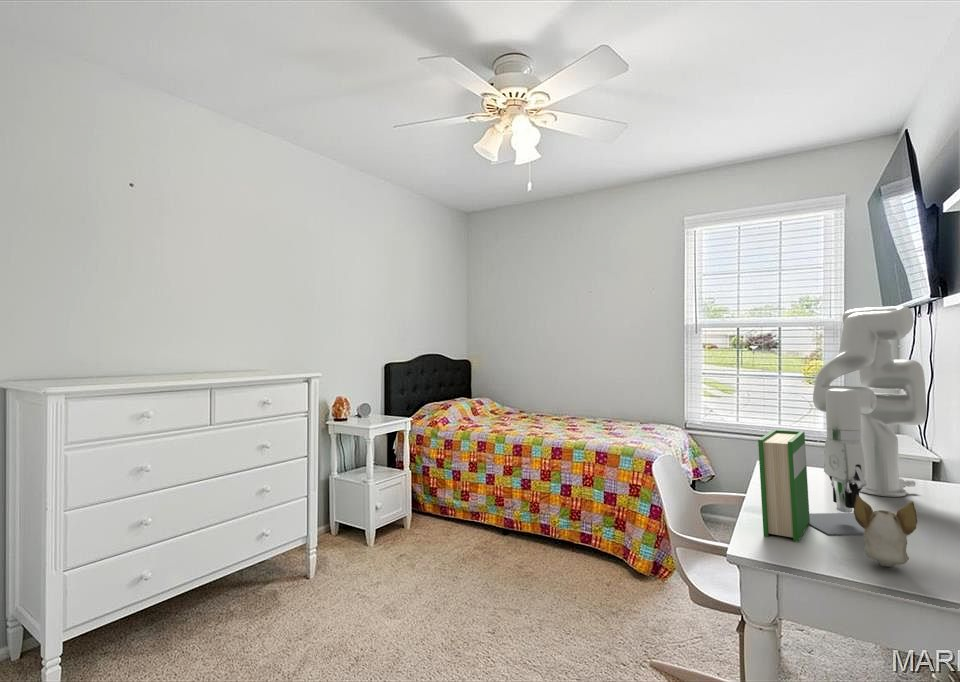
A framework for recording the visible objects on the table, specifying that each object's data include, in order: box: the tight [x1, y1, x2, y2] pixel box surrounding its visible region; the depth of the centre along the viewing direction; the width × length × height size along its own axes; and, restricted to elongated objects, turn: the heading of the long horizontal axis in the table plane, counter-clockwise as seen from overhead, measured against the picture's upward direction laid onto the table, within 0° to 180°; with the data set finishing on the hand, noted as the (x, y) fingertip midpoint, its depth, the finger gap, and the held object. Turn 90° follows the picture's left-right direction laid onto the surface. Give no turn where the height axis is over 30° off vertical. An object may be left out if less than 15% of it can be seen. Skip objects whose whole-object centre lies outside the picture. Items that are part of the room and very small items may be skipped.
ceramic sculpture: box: [852, 494, 918, 568], centre depth 109 cm, size 11×9×15 cm
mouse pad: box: [808, 512, 911, 536], centre depth 136 cm, size 20×16×1 cm
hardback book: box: [757, 429, 810, 543], centre depth 133 cm, size 18×7×24 cm, turn 140°
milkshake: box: [833, 478, 854, 513], centre depth 136 cm, size 4×5×10 cm
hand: (846, 504), depth 136 cm, fingers closed on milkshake, 4 cm apart
